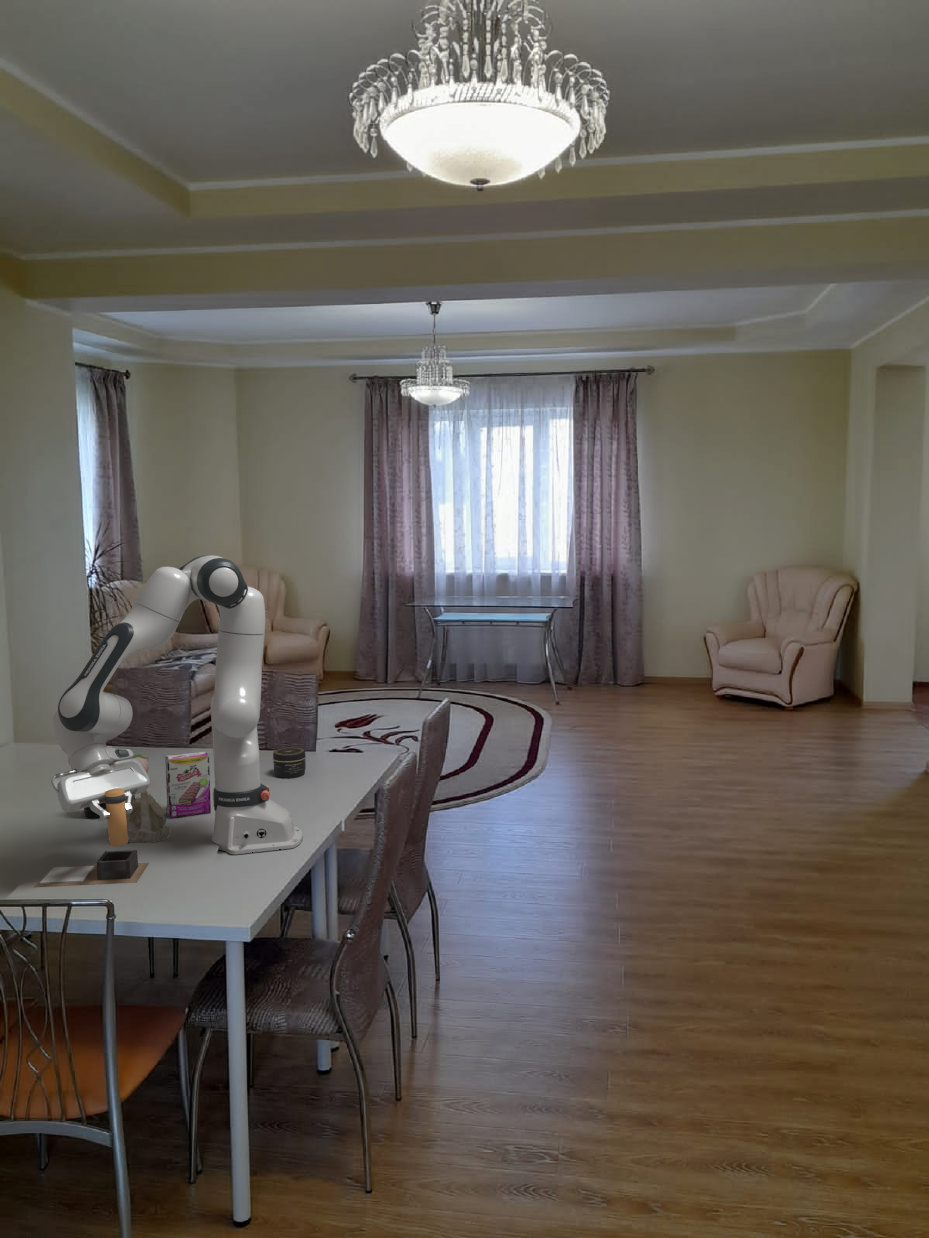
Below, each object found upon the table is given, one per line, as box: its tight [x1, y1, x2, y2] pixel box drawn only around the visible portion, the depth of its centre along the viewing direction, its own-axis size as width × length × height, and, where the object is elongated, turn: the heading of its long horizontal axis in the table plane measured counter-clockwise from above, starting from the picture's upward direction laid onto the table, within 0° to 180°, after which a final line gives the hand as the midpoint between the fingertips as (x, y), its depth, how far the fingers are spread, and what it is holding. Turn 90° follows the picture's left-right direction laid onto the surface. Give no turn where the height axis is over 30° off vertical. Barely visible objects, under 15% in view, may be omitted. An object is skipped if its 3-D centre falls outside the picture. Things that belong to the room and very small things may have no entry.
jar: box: [272, 747, 307, 780], centre depth 304 cm, size 10×10×8 cm
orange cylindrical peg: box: [105, 789, 128, 847], centre depth 218 cm, size 4×4×12 cm
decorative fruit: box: [133, 754, 150, 774], centre depth 295 cm, size 9×8×10 cm
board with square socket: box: [33, 849, 150, 888], centre depth 219 cm, size 22×12×6 cm, turn 95°
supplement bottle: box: [83, 802, 106, 820], centre depth 266 cm, size 7×7×12 cm
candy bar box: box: [164, 751, 212, 819], centre depth 266 cm, size 11×5×16 cm, turn 115°
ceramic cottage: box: [125, 790, 171, 843], centre depth 251 cm, size 16×16×15 cm
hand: (117, 815), depth 217 cm, fingers closed on orange cylindrical peg, 4 cm apart
